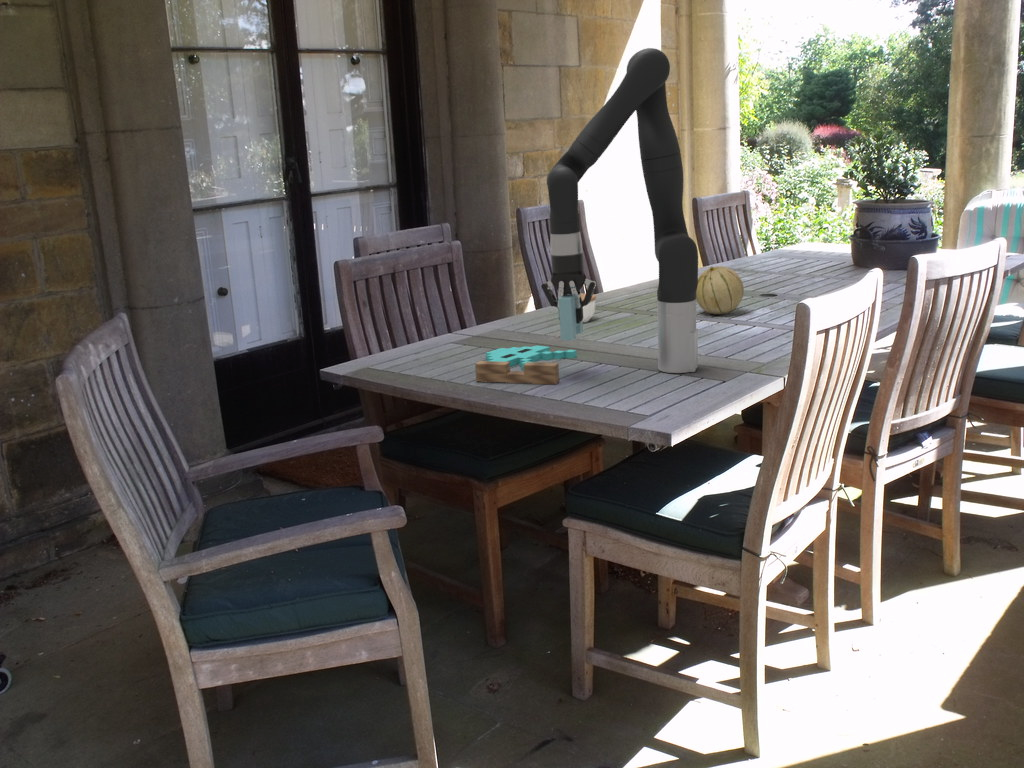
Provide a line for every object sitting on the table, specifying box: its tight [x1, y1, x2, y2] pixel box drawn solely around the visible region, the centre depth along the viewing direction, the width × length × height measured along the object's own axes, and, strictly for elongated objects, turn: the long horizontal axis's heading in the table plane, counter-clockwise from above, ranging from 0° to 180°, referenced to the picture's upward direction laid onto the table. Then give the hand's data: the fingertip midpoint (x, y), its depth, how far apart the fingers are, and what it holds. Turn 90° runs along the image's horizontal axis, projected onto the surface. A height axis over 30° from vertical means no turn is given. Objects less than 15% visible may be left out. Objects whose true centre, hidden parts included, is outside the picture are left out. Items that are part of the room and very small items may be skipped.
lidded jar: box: [581, 292, 597, 323], centre depth 311 cm, size 11×11×9 cm
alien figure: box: [485, 345, 578, 371], centre depth 265 cm, size 20×2×20 cm
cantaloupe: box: [696, 265, 745, 315], centre depth 310 cm, size 15×15×15 cm
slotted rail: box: [475, 360, 560, 385], centre depth 244 cm, size 20×3×4 cm, turn 72°
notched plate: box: [557, 294, 584, 341], centre depth 245 cm, size 3×10×10 cm, turn 162°
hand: (571, 322), depth 245 cm, fingers closed on notched plate, 3 cm apart
